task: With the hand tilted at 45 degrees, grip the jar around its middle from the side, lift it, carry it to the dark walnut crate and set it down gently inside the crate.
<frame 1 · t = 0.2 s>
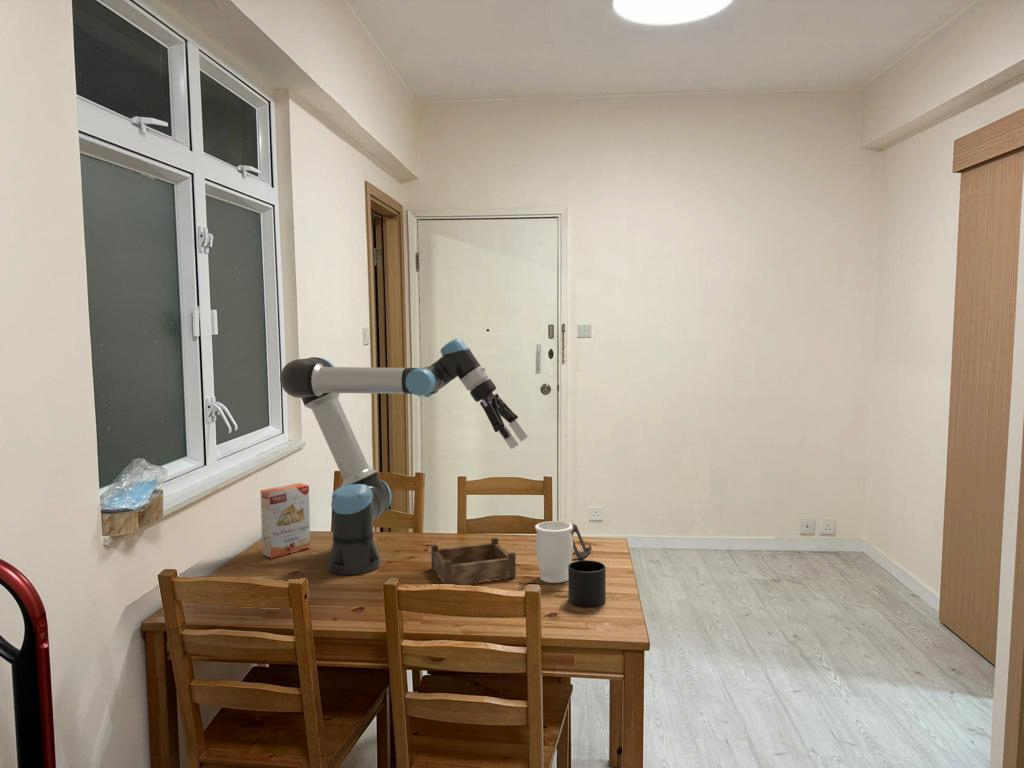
hand: (520, 442, 216), 35 cm above the table, tool tilted 35°, fingers open, 13 cm apart
mug: (587, 599, 187), on the table
jar: (554, 579, 202), on the table
portable electronic device stand: (575, 555, 223), on the table
crate: (472, 573, 207), on the table
cracker box: (287, 553, 229), on the table
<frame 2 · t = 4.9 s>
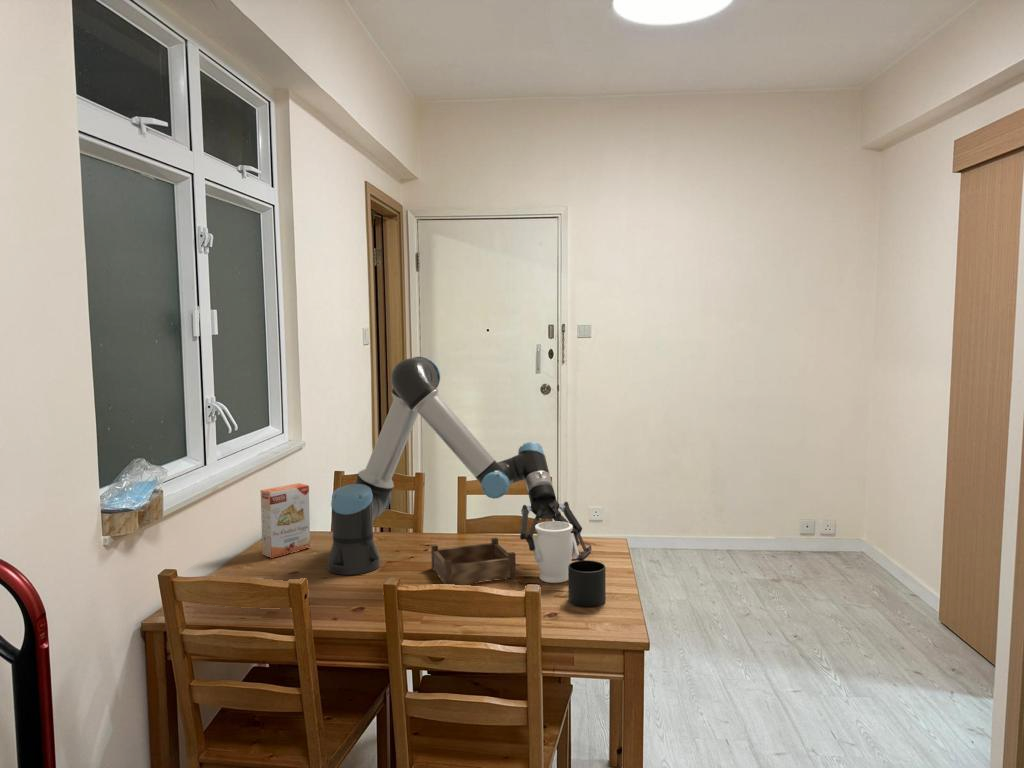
hand: (557, 558, 199), 7 cm above the table, tool tilted 45°, fingers closed on jar, 10 cm apart
jar: (554, 579, 202), on the table, touching gripper
everything else where it was.
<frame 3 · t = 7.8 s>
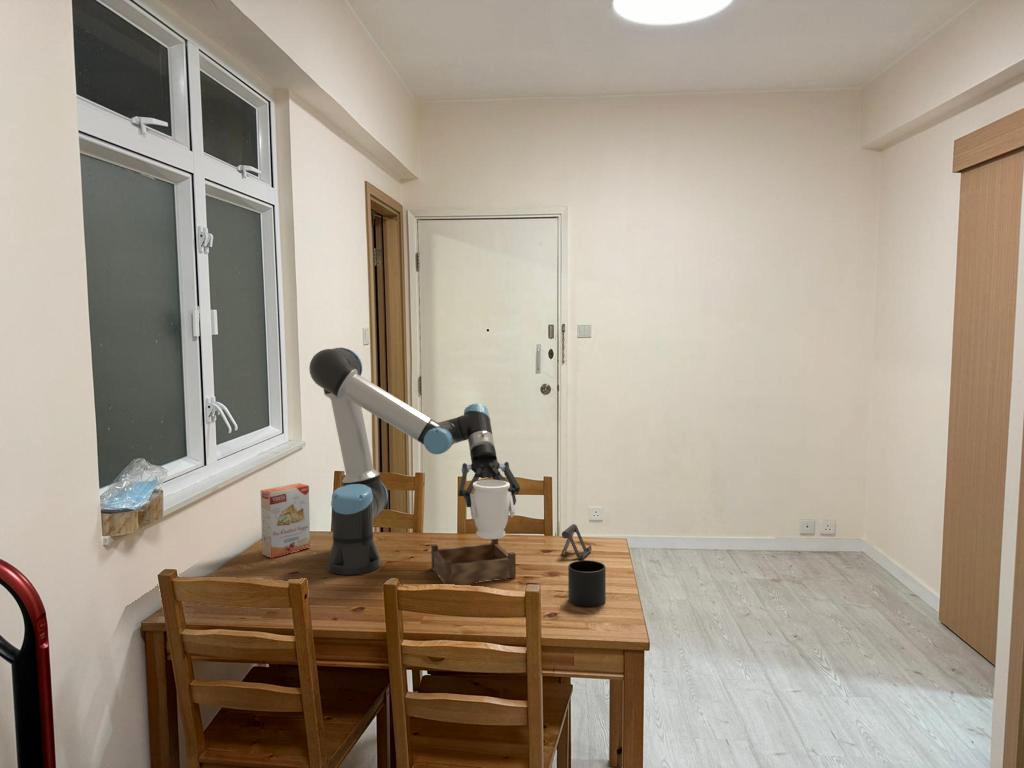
hand: (493, 515, 202), 18 cm above the table, tool tilted 45°, fingers closed on jar, 10 cm apart
jar: (490, 536, 205), point 11 cm above the table, touching gripper
everything else where it was.
when the fingers open (9 cm above the table, at t = 10.6 s): jar drops 1 cm, resting on crate.
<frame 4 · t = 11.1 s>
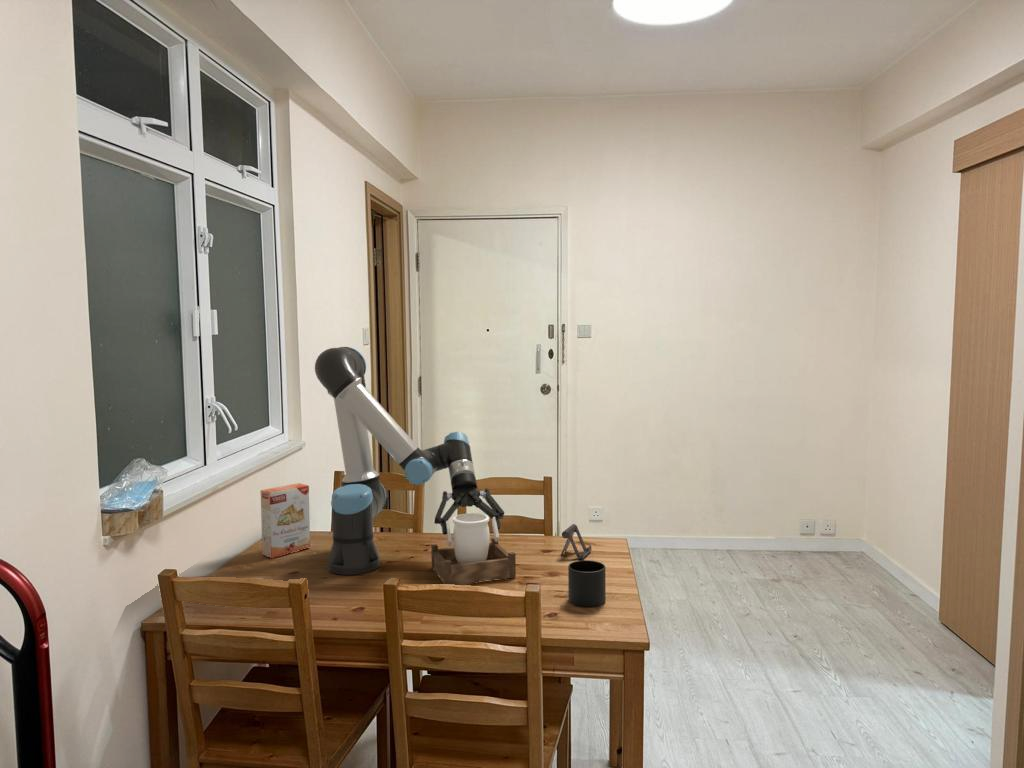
hand: (473, 541, 204), 10 cm above the table, tool tilted 45°, fingers open, 13 cm apart
jar: (471, 569, 207), point 1 cm above the table, touching crate
everything else where it was.
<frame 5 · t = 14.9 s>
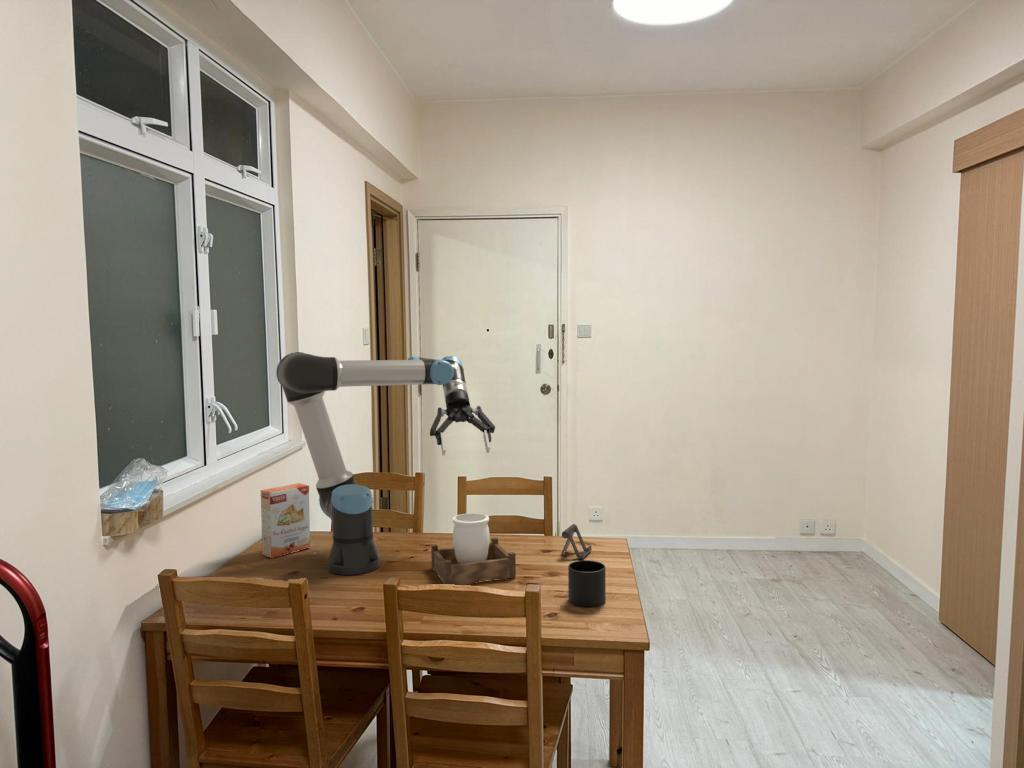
hand: (466, 451, 219), 33 cm above the table, tool tilted 45°, fingers open, 13 cm apart
nothing on the table moved.
at the end: jar inside the target area on the crate (0.4 cm from its centre), point 1.0 cm above the crate's base; jar tilted 0°; the gripper is holding nothing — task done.
